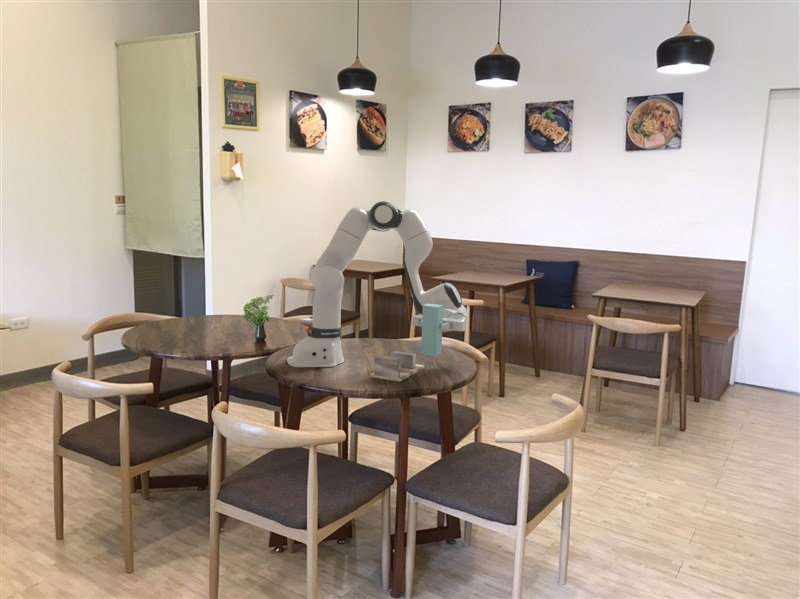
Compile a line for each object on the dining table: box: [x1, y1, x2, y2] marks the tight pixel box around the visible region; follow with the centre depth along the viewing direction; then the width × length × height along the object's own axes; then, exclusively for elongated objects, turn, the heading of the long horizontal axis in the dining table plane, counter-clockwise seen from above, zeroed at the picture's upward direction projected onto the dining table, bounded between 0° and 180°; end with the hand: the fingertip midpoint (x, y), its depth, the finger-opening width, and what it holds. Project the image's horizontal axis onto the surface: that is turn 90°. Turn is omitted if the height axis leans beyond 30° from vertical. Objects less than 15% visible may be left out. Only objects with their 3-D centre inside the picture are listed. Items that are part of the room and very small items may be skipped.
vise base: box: [370, 354, 425, 383], centre depth 242 cm, size 22×12×8 cm, turn 155°
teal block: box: [420, 304, 443, 357], centre depth 234 cm, size 5×6×18 cm
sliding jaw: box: [390, 350, 417, 369], centre depth 246 cm, size 3×9×5 cm, turn 65°
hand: (431, 325), depth 233 cm, fingers closed on teal block, 6 cm apart
